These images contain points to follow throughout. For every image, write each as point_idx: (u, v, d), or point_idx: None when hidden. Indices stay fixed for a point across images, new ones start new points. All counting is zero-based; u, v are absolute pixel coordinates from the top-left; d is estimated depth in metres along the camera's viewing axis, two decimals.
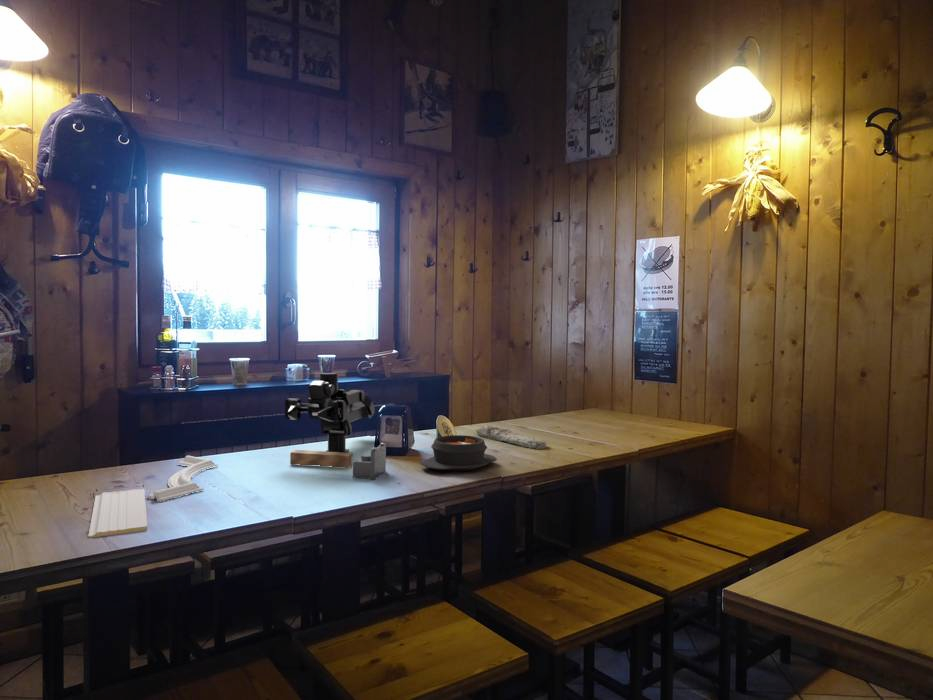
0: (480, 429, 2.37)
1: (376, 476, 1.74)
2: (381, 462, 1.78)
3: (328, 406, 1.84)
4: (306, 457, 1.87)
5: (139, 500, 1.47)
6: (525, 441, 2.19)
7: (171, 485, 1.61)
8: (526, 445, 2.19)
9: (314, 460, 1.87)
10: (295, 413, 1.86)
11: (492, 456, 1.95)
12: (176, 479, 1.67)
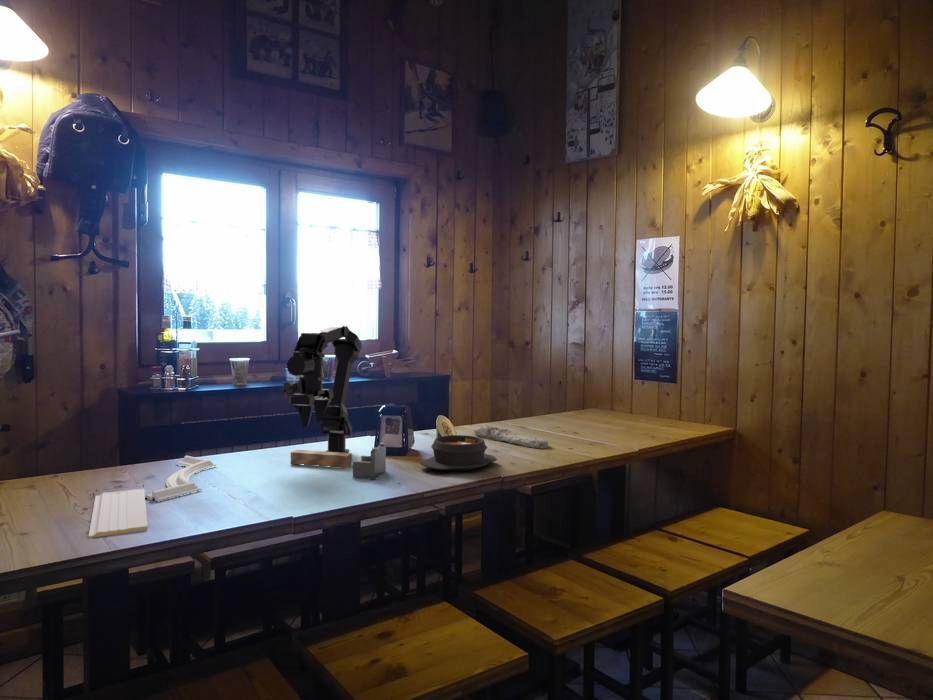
0: (479, 429, 2.36)
1: (376, 476, 1.74)
2: (381, 462, 1.78)
3: None
4: (306, 457, 1.88)
5: (139, 500, 1.47)
6: (527, 441, 2.20)
7: (169, 485, 1.61)
8: (528, 445, 2.19)
9: (314, 460, 1.87)
10: (321, 406, 1.93)
11: (492, 456, 1.95)
12: (174, 479, 1.67)
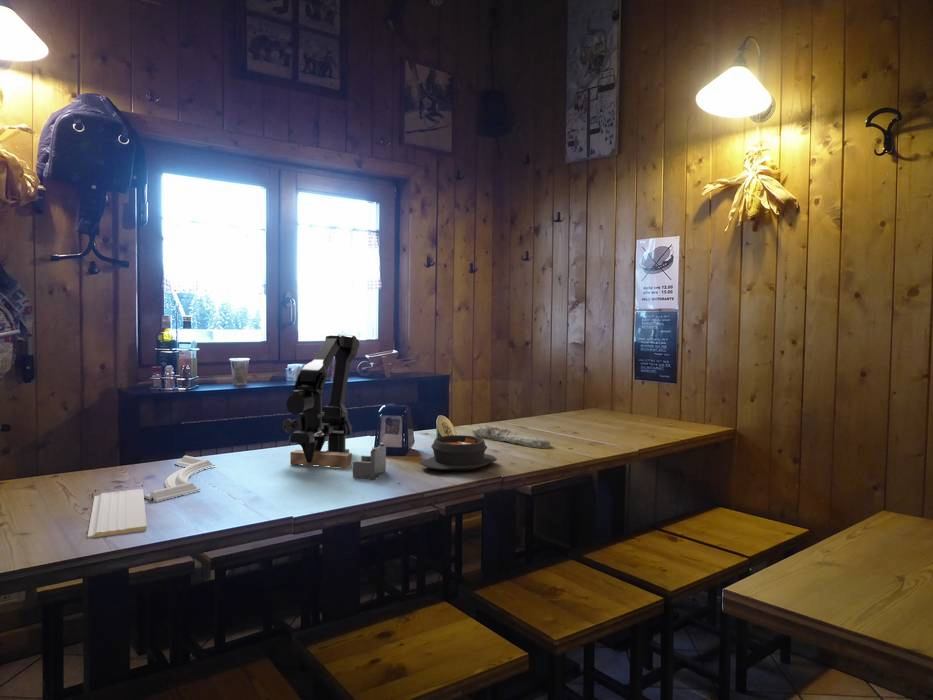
0: (478, 430, 2.36)
1: (376, 476, 1.74)
2: (381, 462, 1.78)
3: None
4: None
5: (138, 500, 1.47)
6: (529, 441, 2.20)
7: (168, 485, 1.61)
8: (530, 445, 2.20)
9: (313, 460, 1.87)
10: (318, 442, 1.91)
11: (492, 456, 1.95)
12: (173, 479, 1.67)
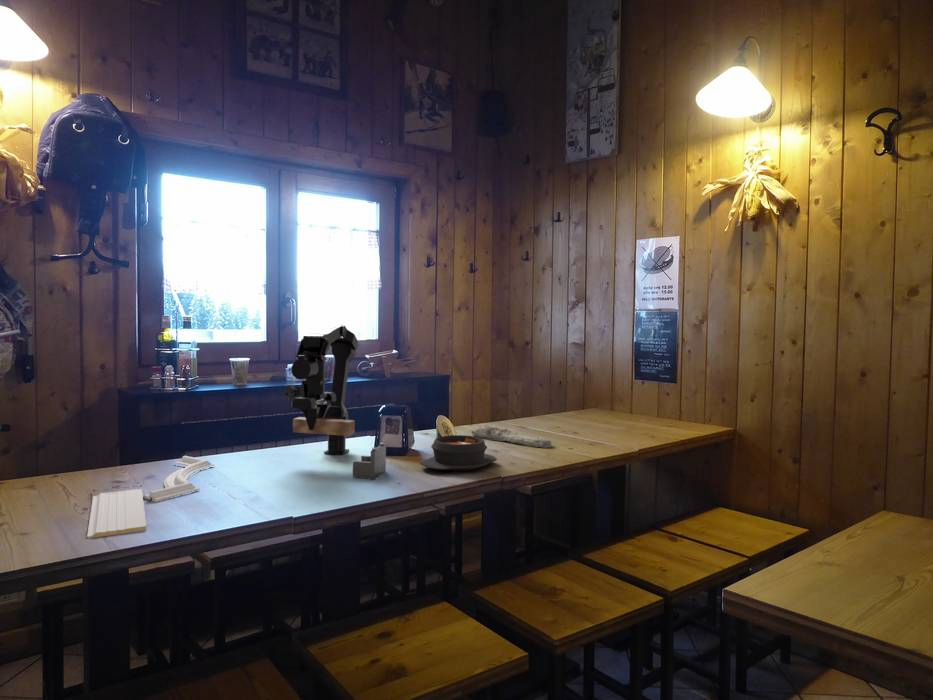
0: (478, 430, 2.35)
1: (376, 476, 1.74)
2: (381, 462, 1.78)
3: None
4: None
5: (137, 500, 1.47)
6: (531, 440, 2.21)
7: (167, 485, 1.61)
8: (532, 445, 2.20)
9: (316, 427, 1.85)
10: (320, 410, 1.89)
11: (492, 456, 1.95)
12: (172, 479, 1.67)
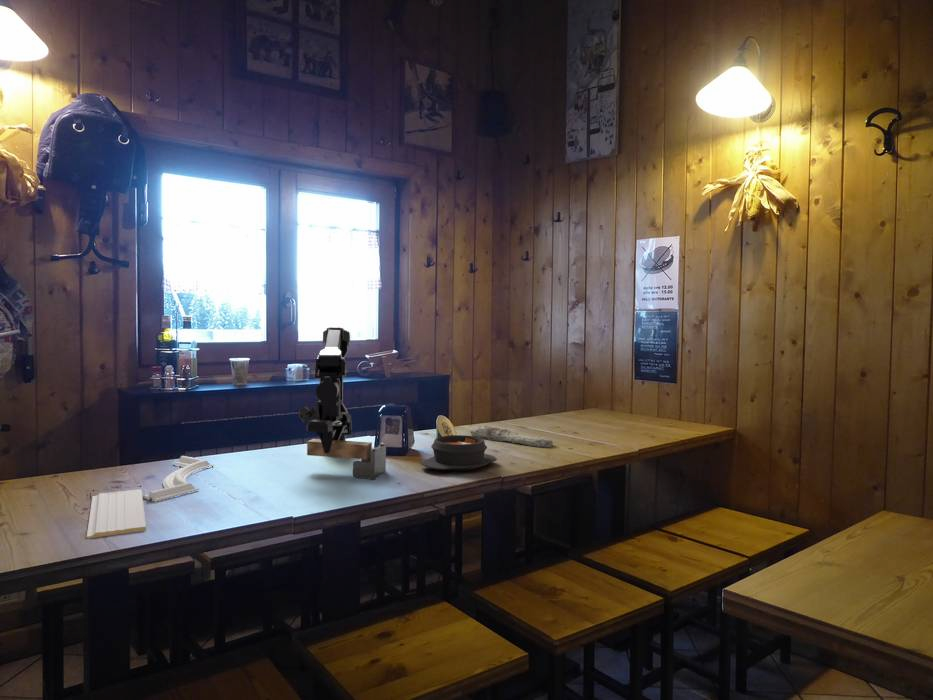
0: (477, 430, 2.35)
1: (376, 476, 1.74)
2: (381, 462, 1.78)
3: None
4: None
5: (136, 501, 1.47)
6: (533, 440, 2.21)
7: (166, 485, 1.61)
8: (534, 444, 2.21)
9: (331, 450, 1.77)
10: (336, 432, 1.82)
11: (492, 456, 1.95)
12: (171, 479, 1.67)
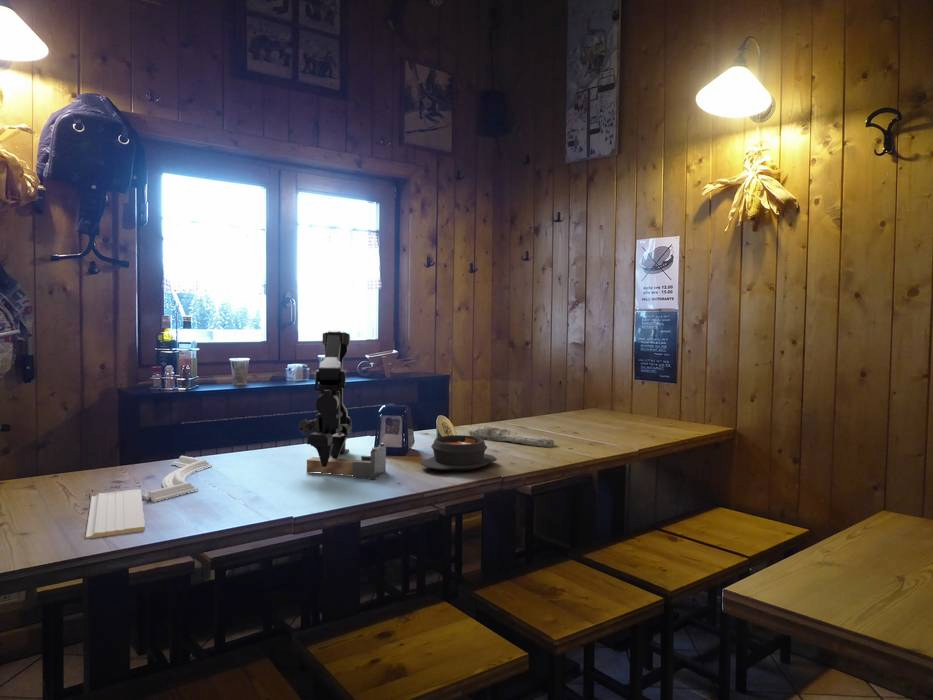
0: (477, 430, 2.34)
1: (376, 476, 1.74)
2: (381, 462, 1.78)
3: None
4: None
5: (135, 501, 1.46)
6: (534, 440, 2.22)
7: (165, 485, 1.61)
8: (535, 444, 2.22)
9: (331, 468, 1.78)
10: (337, 443, 1.83)
11: (492, 456, 1.95)
12: (170, 479, 1.67)
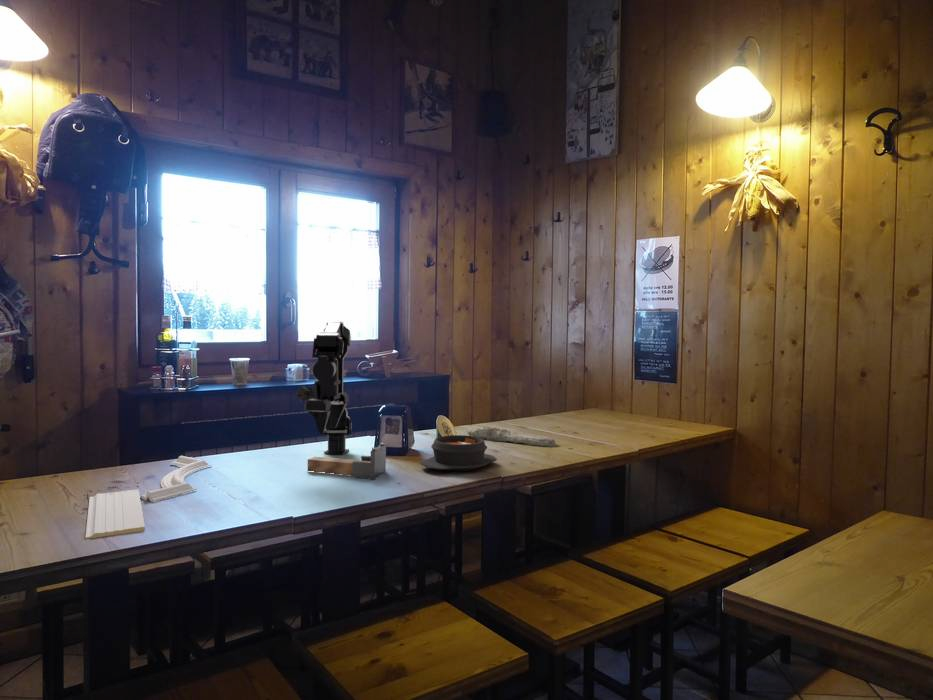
0: (477, 431, 2.33)
1: (376, 476, 1.74)
2: (381, 462, 1.78)
3: None
4: (323, 465, 1.79)
5: (134, 501, 1.46)
6: (536, 440, 2.23)
7: (164, 485, 1.60)
8: (537, 444, 2.22)
9: (331, 468, 1.78)
10: (337, 411, 1.85)
11: (492, 456, 1.95)
12: (169, 479, 1.67)
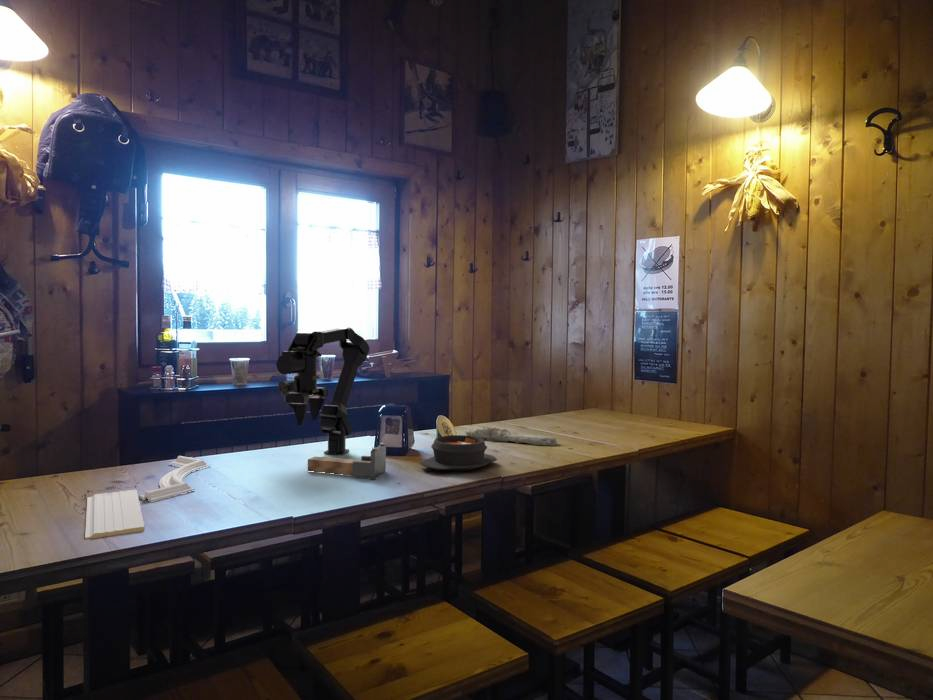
0: (476, 431, 2.32)
1: (376, 476, 1.74)
2: (381, 462, 1.78)
3: None
4: (324, 465, 1.79)
5: (132, 501, 1.46)
6: (538, 439, 2.24)
7: (162, 485, 1.60)
8: (539, 443, 2.23)
9: (331, 468, 1.78)
10: (316, 404, 1.97)
11: (492, 456, 1.95)
12: (168, 479, 1.67)
